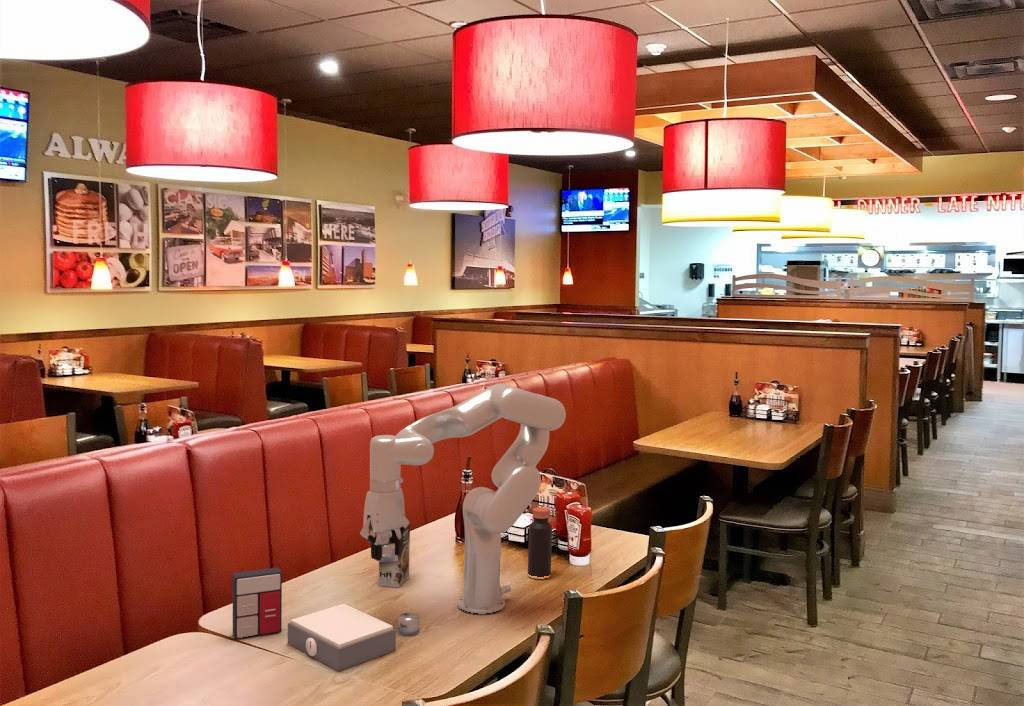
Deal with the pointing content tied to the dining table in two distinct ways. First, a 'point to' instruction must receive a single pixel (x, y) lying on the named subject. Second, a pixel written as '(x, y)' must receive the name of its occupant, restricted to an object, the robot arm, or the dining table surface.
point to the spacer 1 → (387, 550)
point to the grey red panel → (257, 602)
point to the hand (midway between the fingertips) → (385, 555)
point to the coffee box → (396, 562)
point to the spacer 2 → (408, 624)
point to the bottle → (540, 543)
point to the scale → (341, 636)
